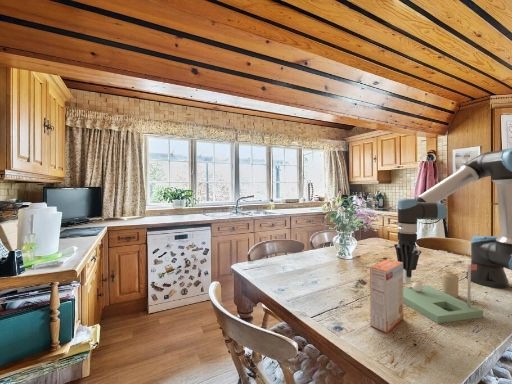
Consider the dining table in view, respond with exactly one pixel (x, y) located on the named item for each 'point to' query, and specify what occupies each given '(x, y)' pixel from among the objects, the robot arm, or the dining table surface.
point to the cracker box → (386, 294)
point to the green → (441, 303)
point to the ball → (417, 286)
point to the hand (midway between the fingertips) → (406, 283)
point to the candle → (450, 284)
